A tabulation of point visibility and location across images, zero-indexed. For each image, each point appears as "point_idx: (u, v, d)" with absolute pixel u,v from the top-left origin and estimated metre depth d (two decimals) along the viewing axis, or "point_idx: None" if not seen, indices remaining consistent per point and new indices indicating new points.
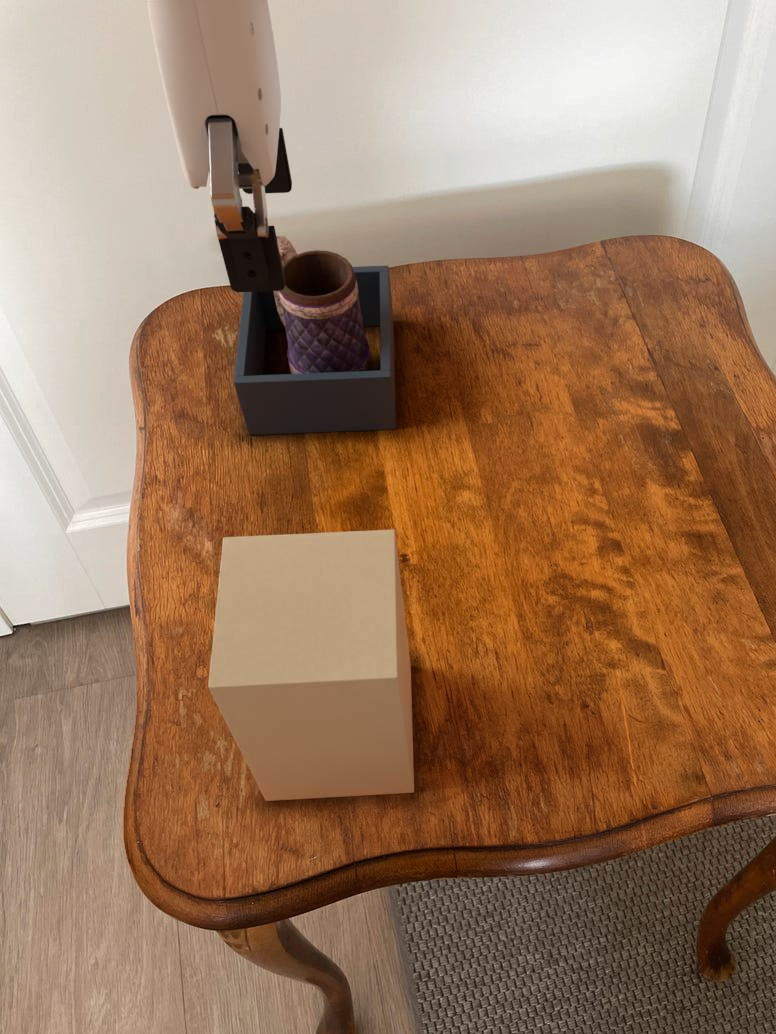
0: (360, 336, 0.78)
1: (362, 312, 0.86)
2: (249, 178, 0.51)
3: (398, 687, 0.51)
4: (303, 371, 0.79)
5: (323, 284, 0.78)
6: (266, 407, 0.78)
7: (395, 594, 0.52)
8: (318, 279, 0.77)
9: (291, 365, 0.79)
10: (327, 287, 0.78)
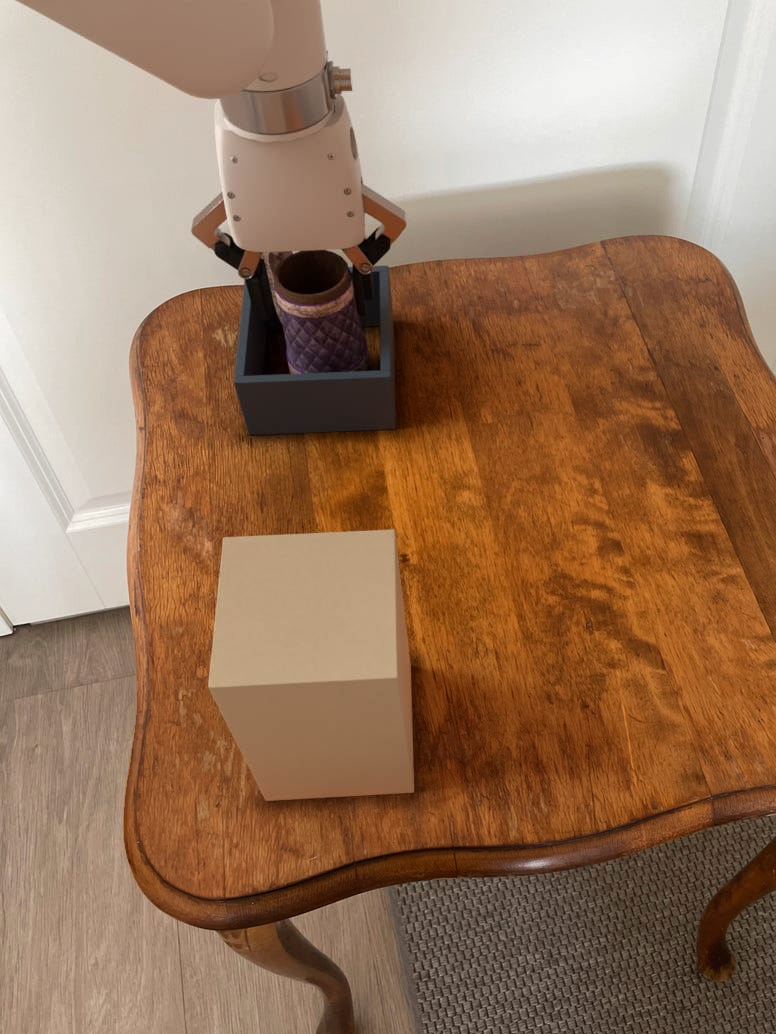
0: (357, 334, 0.77)
1: None
2: None
3: (398, 687, 0.51)
4: (301, 371, 0.78)
5: (320, 283, 0.78)
6: (266, 407, 0.78)
7: (395, 594, 0.52)
8: (314, 278, 0.77)
9: (290, 365, 0.79)
10: (324, 286, 0.78)
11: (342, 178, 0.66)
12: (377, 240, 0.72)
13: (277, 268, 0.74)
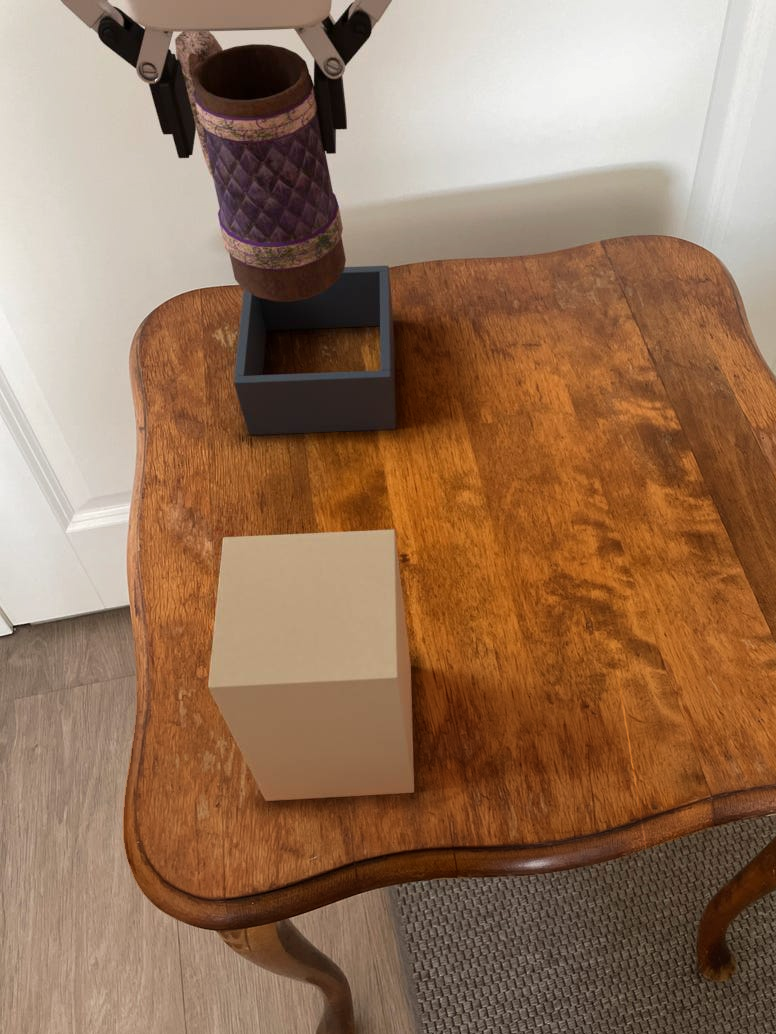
0: (323, 180, 0.52)
1: (362, 312, 0.86)
2: None
3: (398, 687, 0.51)
4: (240, 237, 0.53)
5: None
6: (266, 407, 0.78)
7: (395, 594, 0.52)
8: (258, 97, 0.52)
9: (223, 231, 0.54)
10: None
11: None
12: (351, 18, 0.47)
13: (198, 67, 0.48)
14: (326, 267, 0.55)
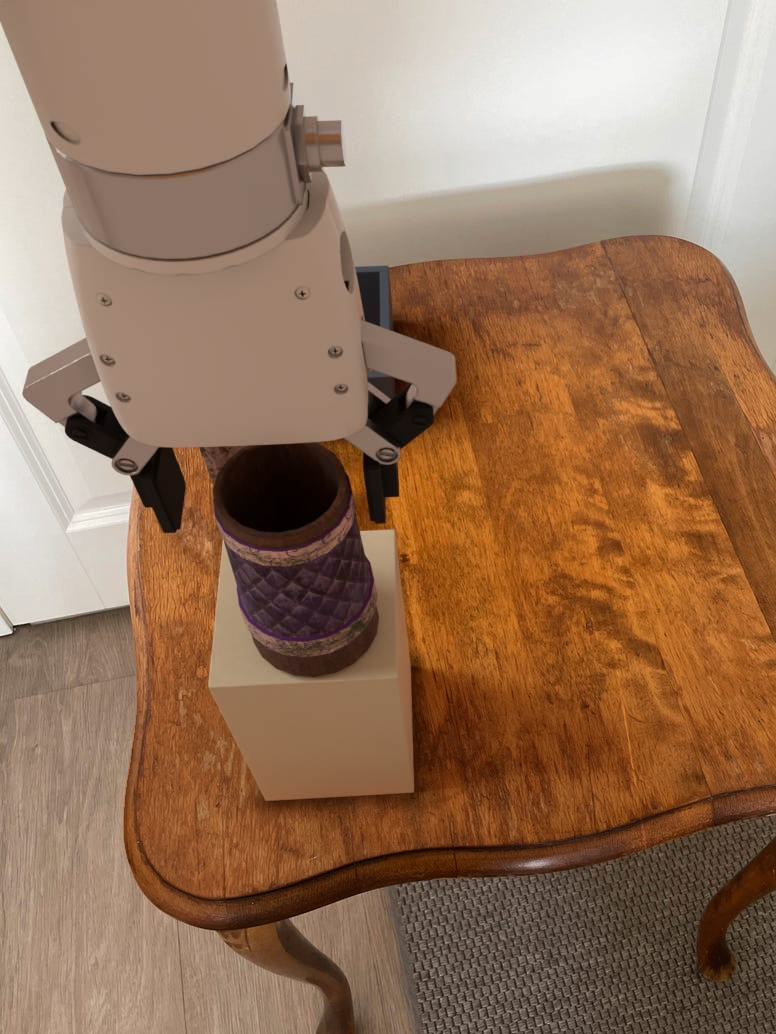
0: (358, 573, 0.45)
1: None
2: None
3: (398, 687, 0.51)
4: (262, 628, 0.46)
5: (296, 484, 0.45)
6: None
7: (395, 594, 0.52)
8: (286, 478, 0.45)
9: (243, 613, 0.47)
10: (302, 488, 0.46)
11: (325, 330, 0.34)
12: (410, 410, 0.39)
13: (219, 475, 0.42)
14: (358, 643, 0.49)
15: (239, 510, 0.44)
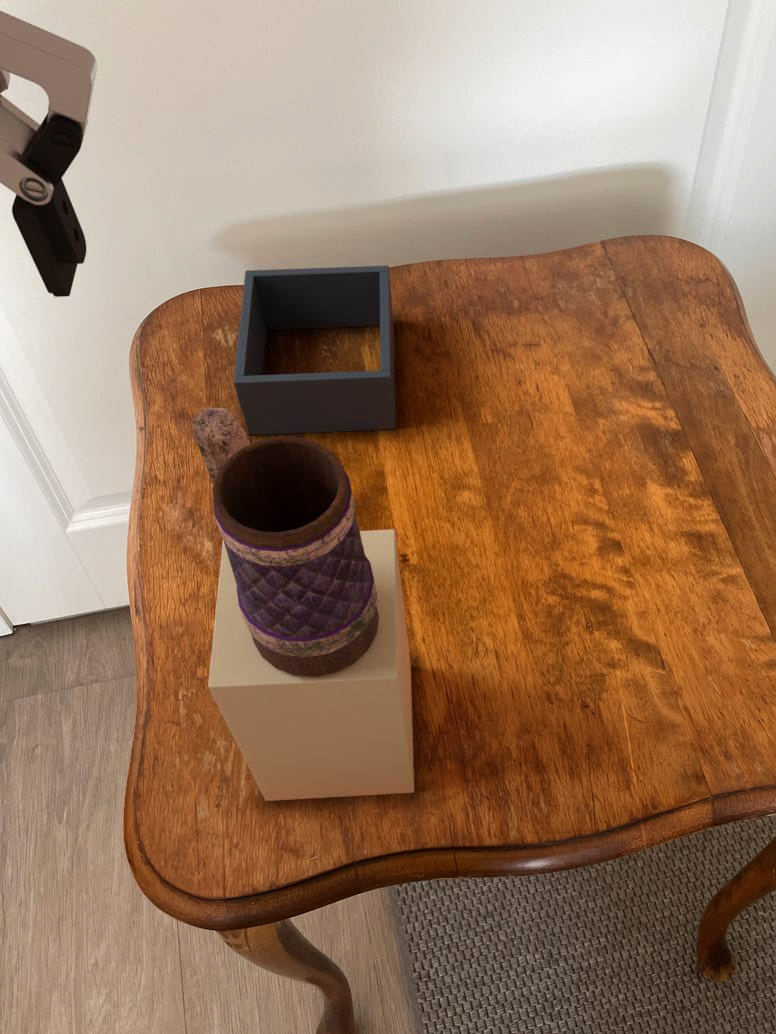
0: (358, 572, 0.45)
1: (362, 312, 0.86)
2: None
3: (398, 687, 0.51)
4: (262, 628, 0.46)
5: (295, 484, 0.45)
6: (266, 407, 0.78)
7: (395, 594, 0.52)
8: (286, 478, 0.45)
9: (243, 613, 0.47)
10: (302, 488, 0.46)
11: None
12: (47, 125, 0.33)
13: (219, 475, 0.42)
14: (358, 643, 0.49)
15: (239, 510, 0.44)
